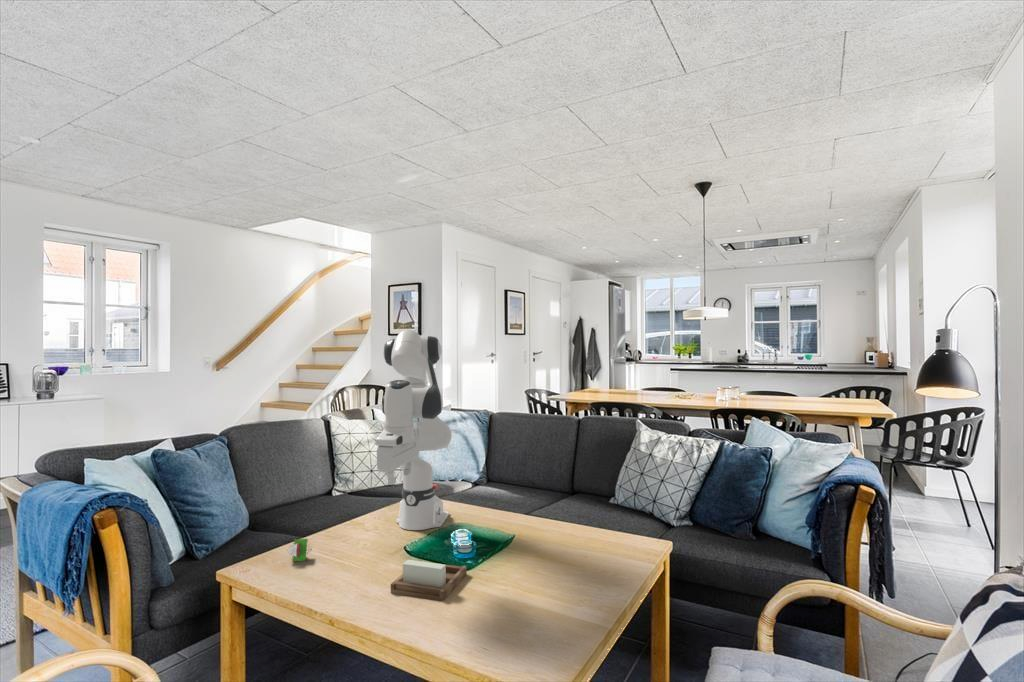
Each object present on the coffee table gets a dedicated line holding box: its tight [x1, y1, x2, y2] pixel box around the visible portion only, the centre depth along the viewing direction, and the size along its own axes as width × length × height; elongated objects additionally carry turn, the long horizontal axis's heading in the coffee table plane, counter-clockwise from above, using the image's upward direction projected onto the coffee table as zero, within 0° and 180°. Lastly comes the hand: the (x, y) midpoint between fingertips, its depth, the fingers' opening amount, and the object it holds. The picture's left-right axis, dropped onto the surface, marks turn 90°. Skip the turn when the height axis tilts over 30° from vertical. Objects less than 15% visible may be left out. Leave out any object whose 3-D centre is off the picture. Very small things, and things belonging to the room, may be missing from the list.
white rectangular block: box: [402, 559, 447, 588], centre depth 155 cm, size 3×12×6 cm, turn 72°
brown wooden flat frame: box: [390, 559, 468, 602], centre depth 159 cm, size 17×16×2 cm
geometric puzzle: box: [287, 538, 313, 562], centre depth 176 cm, size 7×7×8 cm
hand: (399, 479), depth 166 cm, fingers open, 8 cm apart
